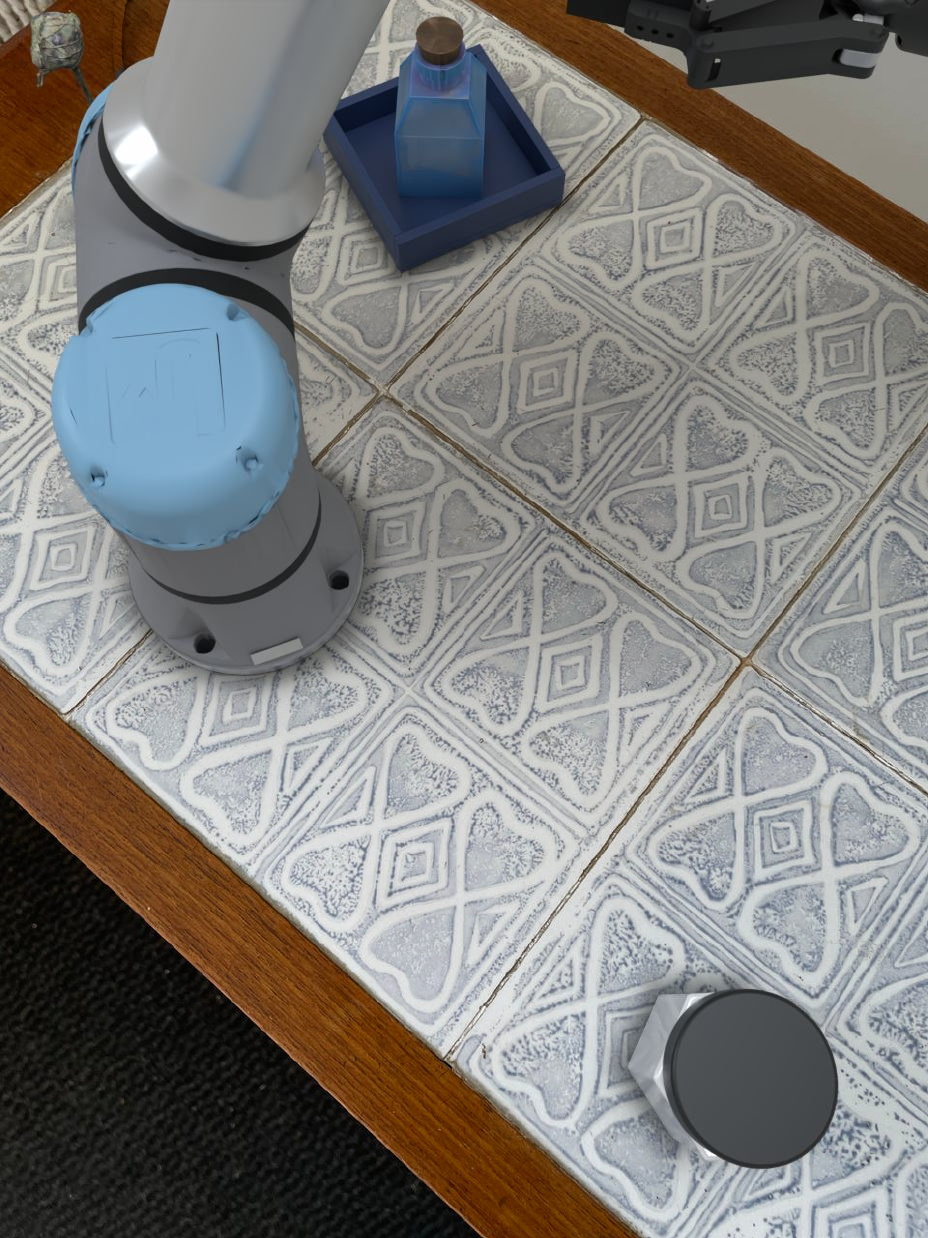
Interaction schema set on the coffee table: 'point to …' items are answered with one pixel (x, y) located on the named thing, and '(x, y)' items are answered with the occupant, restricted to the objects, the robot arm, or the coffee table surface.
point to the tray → (430, 226)
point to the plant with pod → (58, 46)
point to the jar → (737, 1075)
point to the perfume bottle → (440, 115)
